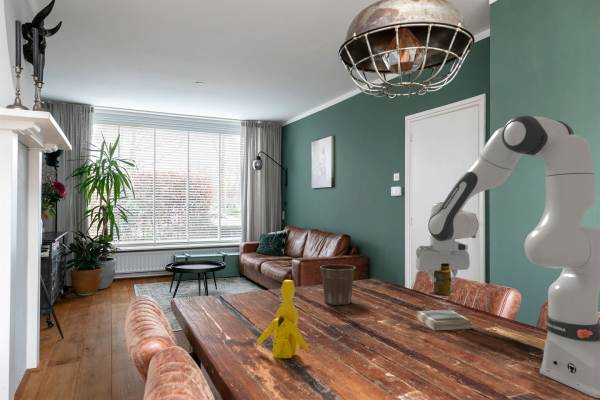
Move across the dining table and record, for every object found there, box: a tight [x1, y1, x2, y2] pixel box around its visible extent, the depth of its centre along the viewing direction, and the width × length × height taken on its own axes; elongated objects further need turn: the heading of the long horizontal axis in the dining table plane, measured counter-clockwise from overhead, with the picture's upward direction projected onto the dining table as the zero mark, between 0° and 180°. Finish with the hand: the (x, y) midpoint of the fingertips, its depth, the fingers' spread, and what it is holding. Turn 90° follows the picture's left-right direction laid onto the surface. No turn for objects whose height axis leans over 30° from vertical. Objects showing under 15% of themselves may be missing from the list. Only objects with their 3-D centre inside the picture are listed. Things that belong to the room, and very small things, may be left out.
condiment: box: [425, 263, 456, 298], centre depth 150 cm, size 7×8×12 cm
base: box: [416, 309, 472, 331], centre depth 150 cm, size 14×14×3 cm
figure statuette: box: [255, 279, 310, 360], centre depth 120 cm, size 18×8×22 cm, turn 64°
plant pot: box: [319, 264, 356, 306], centre depth 182 cm, size 16×16×16 cm
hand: (442, 282), depth 150 cm, fingers closed on condiment, 6 cm apart
